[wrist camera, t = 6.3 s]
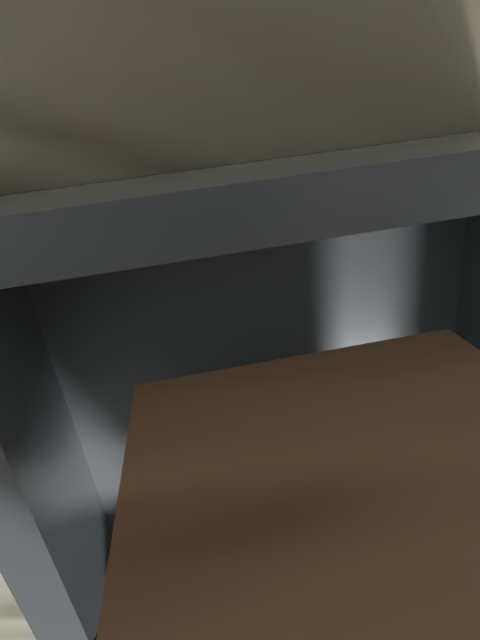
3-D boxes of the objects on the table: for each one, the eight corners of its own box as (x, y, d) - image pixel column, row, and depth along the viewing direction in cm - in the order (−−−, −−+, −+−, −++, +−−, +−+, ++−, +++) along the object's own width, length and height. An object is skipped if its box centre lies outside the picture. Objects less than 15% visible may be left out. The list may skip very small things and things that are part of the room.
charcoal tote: (447, 499, 15) (533, 610, 12) (105, 575, 14) (82, 724, 11) (492, 129, 10) (670, 123, 7) (-38, 200, 9) (-178, 240, 5)
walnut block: (427, 542, 10) (705, 980, 5) (190, 596, 10) (212, 1153, 4) (447, 328, 8) (1043, 731, 3) (134, 385, 7) (34, 1048, 2)
